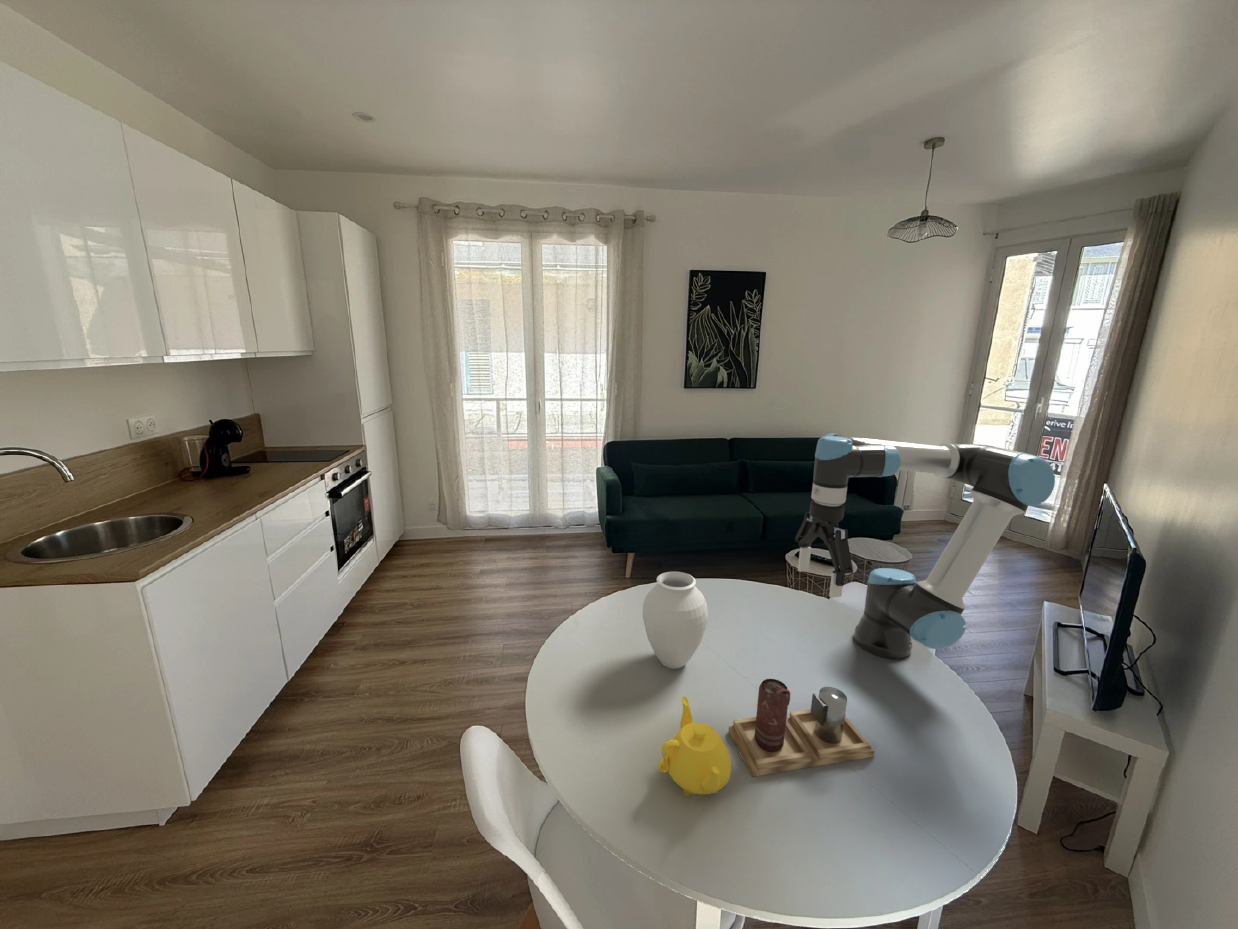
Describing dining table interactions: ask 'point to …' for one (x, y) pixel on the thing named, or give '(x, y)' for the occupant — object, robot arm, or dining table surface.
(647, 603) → the vase
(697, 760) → the teapot
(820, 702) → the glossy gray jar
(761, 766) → the tray
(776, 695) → the can
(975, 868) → the dining table surface
